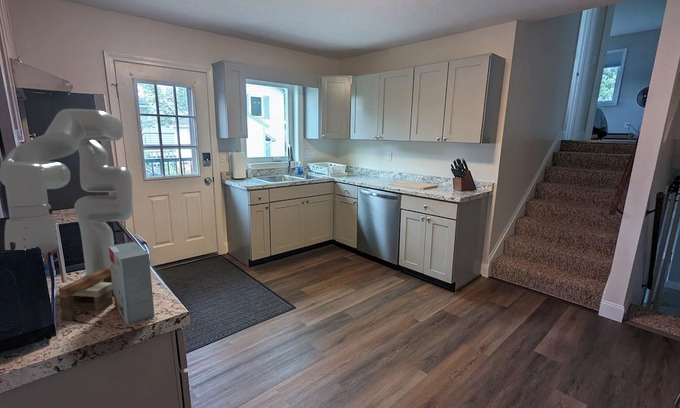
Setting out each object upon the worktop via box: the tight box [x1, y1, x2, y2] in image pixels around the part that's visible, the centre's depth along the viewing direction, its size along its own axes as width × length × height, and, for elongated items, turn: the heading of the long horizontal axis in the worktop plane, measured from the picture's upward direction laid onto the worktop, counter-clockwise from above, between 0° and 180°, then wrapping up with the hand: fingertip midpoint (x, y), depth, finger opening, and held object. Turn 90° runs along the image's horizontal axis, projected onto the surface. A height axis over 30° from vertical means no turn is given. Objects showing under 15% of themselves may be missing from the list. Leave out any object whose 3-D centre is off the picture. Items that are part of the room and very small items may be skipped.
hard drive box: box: [108, 241, 155, 325], centre depth 101 cm, size 16×8×20 cm, turn 45°
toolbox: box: [58, 276, 114, 322], centre depth 104 cm, size 17×10×7 cm, turn 175°
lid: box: [72, 282, 113, 297], centre depth 104 cm, size 6×11×2 cm, turn 85°
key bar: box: [58, 267, 111, 297], centre depth 104 cm, size 18×2×2 cm, turn 175°
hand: (38, 280), depth 88 cm, fingers closed
